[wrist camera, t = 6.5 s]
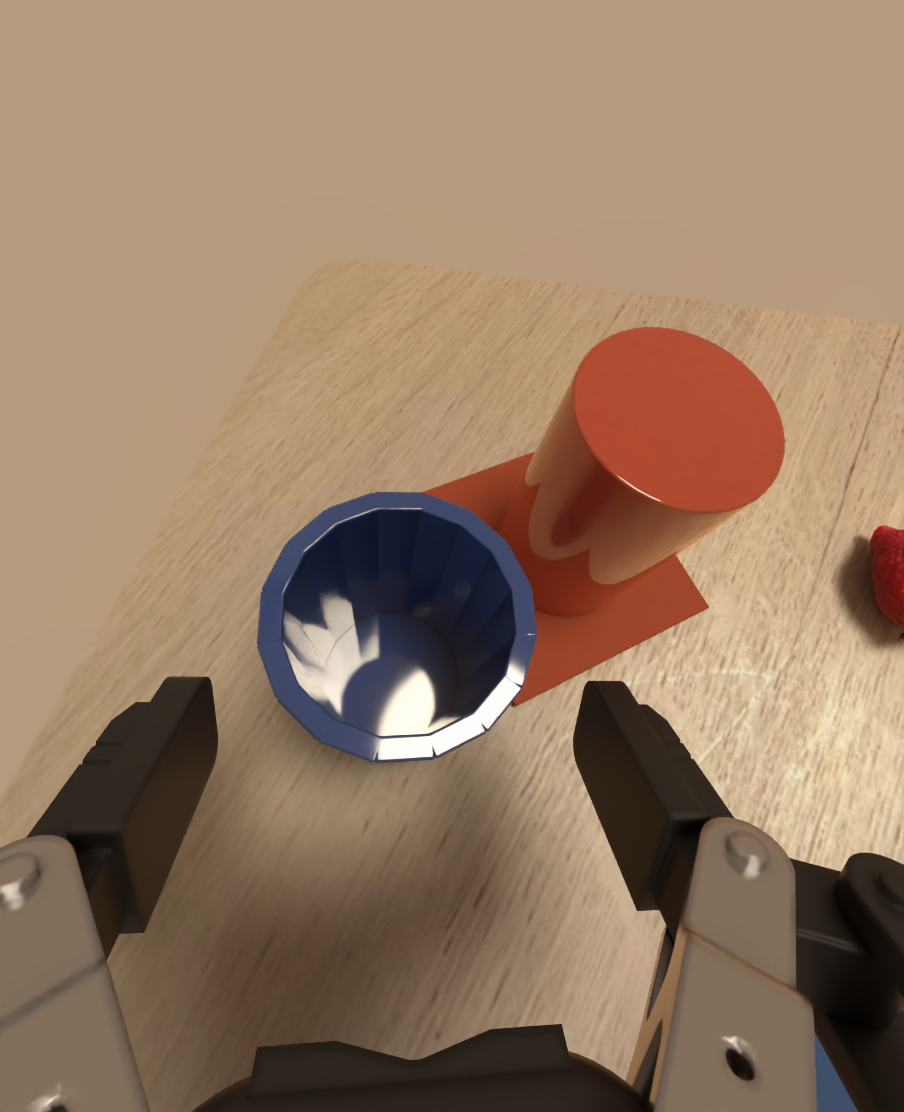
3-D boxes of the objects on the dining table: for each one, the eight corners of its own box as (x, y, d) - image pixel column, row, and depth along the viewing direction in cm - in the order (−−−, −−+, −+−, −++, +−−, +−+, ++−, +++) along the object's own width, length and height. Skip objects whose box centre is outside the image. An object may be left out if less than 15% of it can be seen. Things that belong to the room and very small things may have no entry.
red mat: (513, 706, 21) (516, 706, 20) (411, 499, 24) (411, 495, 23) (704, 609, 23) (709, 607, 23) (592, 434, 26) (595, 429, 26)
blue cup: (347, 791, 19) (319, 820, 10) (291, 642, 21) (219, 544, 11) (492, 718, 20) (585, 682, 11) (428, 585, 22) (464, 459, 13)
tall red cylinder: (535, 639, 22) (653, 547, 12) (471, 517, 23) (532, 356, 14) (649, 584, 23) (829, 467, 14) (582, 475, 25) (703, 304, 16)
